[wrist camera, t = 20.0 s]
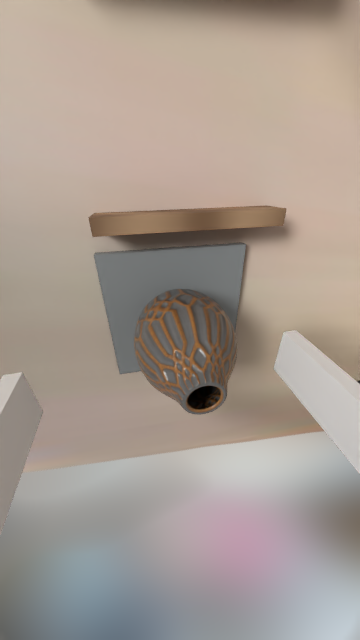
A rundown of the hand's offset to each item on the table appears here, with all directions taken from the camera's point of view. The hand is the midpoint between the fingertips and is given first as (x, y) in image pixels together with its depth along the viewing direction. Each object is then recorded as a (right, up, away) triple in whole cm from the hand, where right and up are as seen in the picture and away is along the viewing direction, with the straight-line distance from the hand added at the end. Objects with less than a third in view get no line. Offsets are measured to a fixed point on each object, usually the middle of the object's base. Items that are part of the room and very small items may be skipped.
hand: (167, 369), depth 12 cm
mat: (0, +3, +8) cm, 8 cm away
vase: (0, +3, +7) cm, 8 cm away
